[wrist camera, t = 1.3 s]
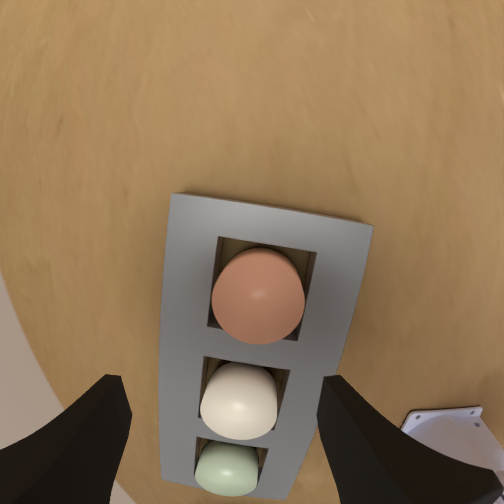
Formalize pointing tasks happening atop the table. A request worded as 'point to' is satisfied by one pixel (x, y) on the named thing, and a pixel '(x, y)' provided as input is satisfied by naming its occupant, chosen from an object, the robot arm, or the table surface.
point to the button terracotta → (258, 296)
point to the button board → (228, 348)
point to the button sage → (227, 468)
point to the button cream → (240, 401)
